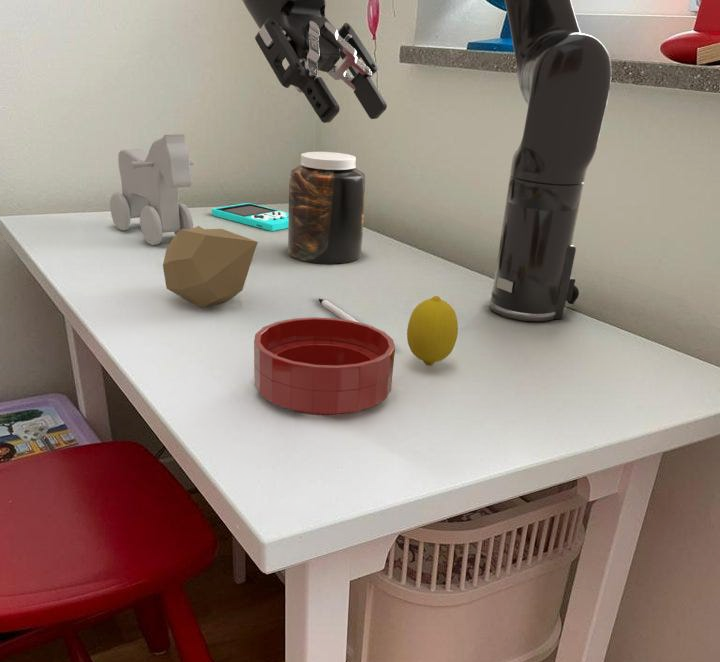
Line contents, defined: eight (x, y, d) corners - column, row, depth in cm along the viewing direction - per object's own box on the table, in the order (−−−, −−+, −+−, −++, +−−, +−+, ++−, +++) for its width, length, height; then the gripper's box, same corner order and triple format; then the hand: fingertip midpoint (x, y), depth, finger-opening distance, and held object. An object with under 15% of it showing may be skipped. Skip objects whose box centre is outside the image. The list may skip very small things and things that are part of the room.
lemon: (426, 353, 90) (434, 285, 86) (463, 368, 87) (472, 298, 83) (393, 363, 87) (400, 293, 83) (430, 379, 83) (438, 307, 79)
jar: (342, 268, 119) (347, 165, 111) (275, 256, 122) (276, 155, 115) (371, 252, 128) (378, 156, 121) (308, 241, 132) (311, 147, 124)
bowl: (384, 367, 85) (388, 320, 83) (395, 423, 74) (401, 370, 71) (259, 363, 84) (258, 314, 82) (250, 419, 72) (249, 364, 70)
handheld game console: (270, 231, 136) (270, 223, 136) (209, 215, 145) (209, 207, 144) (308, 223, 143) (308, 216, 143) (248, 208, 152) (248, 201, 151)
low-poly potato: (236, 324, 95) (289, 265, 100) (184, 250, 89) (244, 191, 94) (171, 324, 106) (222, 271, 110) (120, 258, 99) (176, 205, 104)
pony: (214, 247, 125) (210, 134, 116) (156, 255, 119) (147, 137, 110) (156, 221, 138) (148, 118, 129) (100, 227, 132) (89, 119, 123)
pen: (386, 351, 90) (387, 342, 89) (315, 302, 104) (315, 294, 104) (393, 350, 90) (394, 341, 90) (321, 302, 105) (321, 293, 104)
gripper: (245, -59, 71) (338, 91, 72) (336, -43, 82) (417, 88, 82) (206, 5, 77) (293, 144, 77) (296, 12, 87) (372, 135, 87)
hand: (357, 115), depth 80 cm, fingers open, 8 cm apart
